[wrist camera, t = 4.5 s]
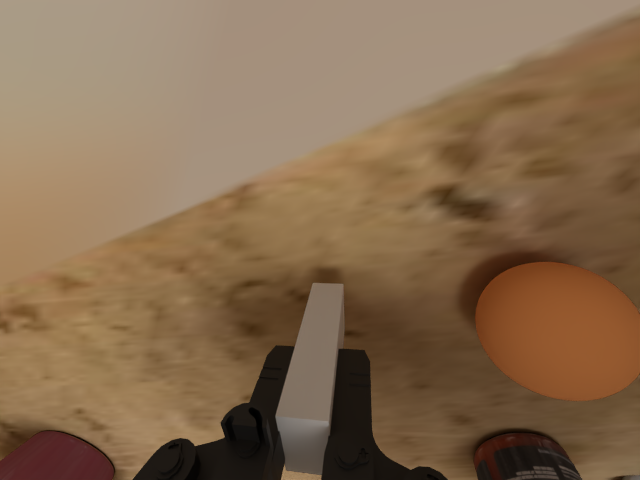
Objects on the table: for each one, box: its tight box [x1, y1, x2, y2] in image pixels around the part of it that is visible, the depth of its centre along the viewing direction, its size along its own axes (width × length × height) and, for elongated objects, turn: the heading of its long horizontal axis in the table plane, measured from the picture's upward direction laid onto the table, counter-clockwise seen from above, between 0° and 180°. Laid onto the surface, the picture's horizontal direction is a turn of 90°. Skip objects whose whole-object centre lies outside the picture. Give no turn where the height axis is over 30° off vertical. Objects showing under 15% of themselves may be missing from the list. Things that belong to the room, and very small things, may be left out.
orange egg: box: [475, 262, 640, 401], centre depth 12 cm, size 6×6×6 cm
